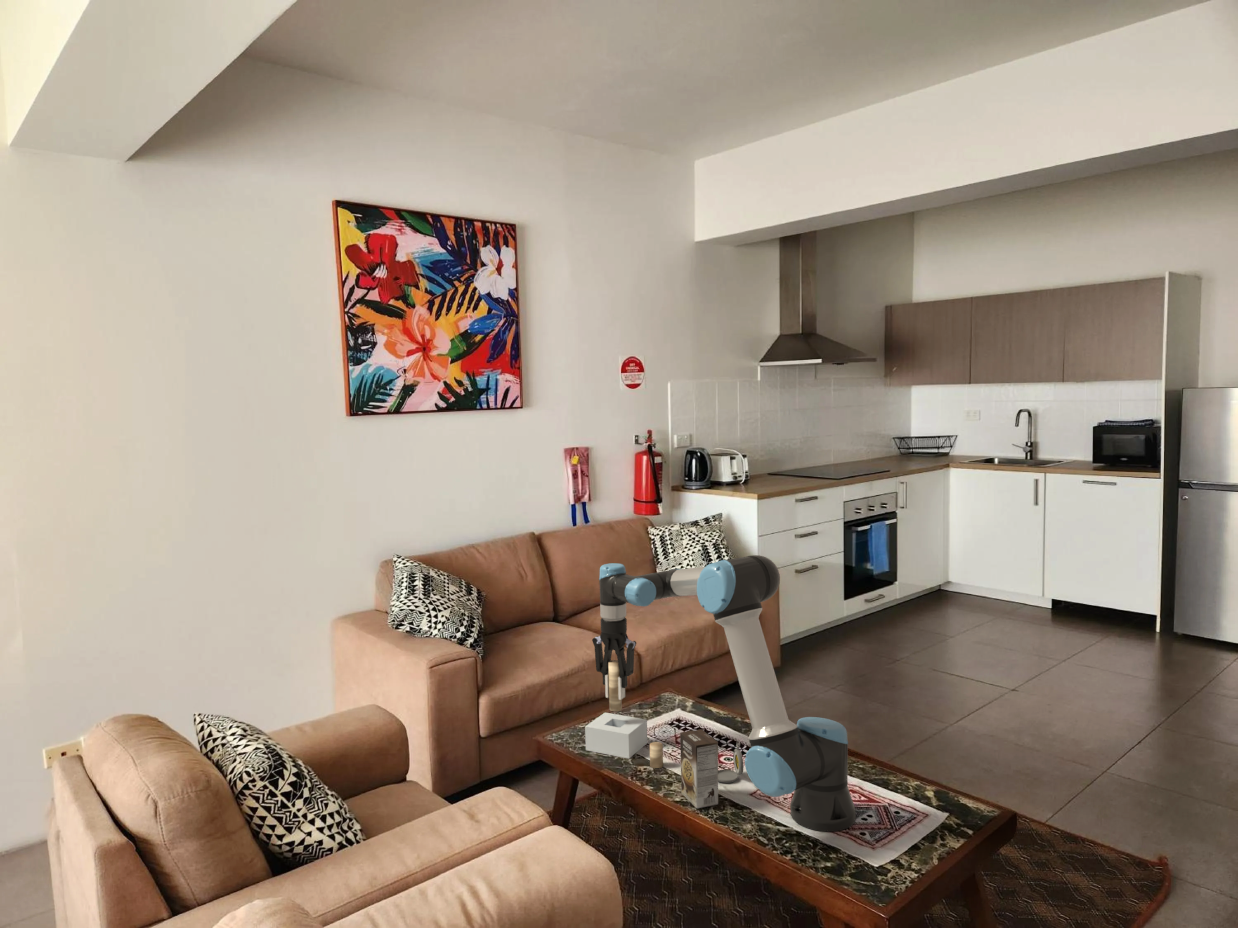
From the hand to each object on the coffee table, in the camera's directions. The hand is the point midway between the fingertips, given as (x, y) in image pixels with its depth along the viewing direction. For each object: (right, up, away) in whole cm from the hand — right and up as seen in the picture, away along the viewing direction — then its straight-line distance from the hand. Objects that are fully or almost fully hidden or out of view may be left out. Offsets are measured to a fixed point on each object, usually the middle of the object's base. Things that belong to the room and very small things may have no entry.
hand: (615, 696), depth 245 cm
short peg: (+11, -15, -13) cm, 23 cm away
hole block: (0, -15, +1) cm, 15 cm away
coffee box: (+21, -17, -32) cm, 42 cm away
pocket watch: (+30, -16, -21) cm, 40 cm away
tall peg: (0, -4, 0) cm, 4 cm away
